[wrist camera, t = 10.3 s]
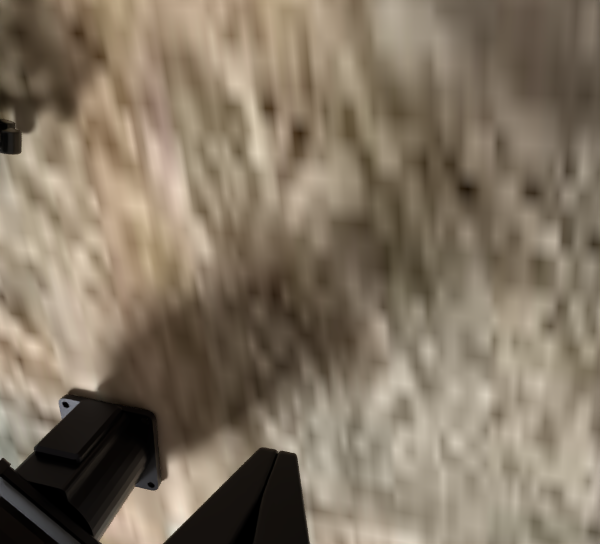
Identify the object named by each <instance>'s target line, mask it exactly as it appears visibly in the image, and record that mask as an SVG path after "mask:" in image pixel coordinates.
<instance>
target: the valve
mask: <svg viewBox="0 0 600 544" xmlns="http://www.w3.org/2000/svg"><path fill="white" fill-rule="evenodd" d="M21 147H22V132H21V131H20V130H17V129H15V123H14V122H13V121H10V120H6V119H0V153H4V154H20V153H21Z"/></svg>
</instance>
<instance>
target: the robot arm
mask: <svg viewBox="0 0 600 544" xmlns="http://www.w3.org/2000/svg"><path fill="white" fill-rule="evenodd" d="M59 407H60V412H61V418H62V420H61V421H60V422H59V423H58V424H57V425H56V426H55V427H54V428H53V429H52V430H51V431H50V432H49V433H48V434H47V435H46V436H45V437H44V438H43V439H42V440H41V441H40V442H39V443H38V444H37V445H36V446H35V447H34V452H33V453H32V454H31V455H30V456H29V457H28V458H27V459H26V460H25V461H24V462H23V463H22V464H21V465H20V466H19V467H18V468H17V469H16V470H14V469H13V468H11V467H10V465H11V464H10V463H9V462H8V461H7V460H5V459H4V458H2V459H1V460H0V544H102V543H100V542H99V540H100V539H101V537H102V536H103V534H104V533H105V531H106V530H107V528H108V527H109V525H110V524H111V522H112V521H113V519H114V517H115V516H116V514H117V513H118V511H119V510H120V508H121V507H122V505H123V504H124V502H125V501H126V499H127V498H128V496H129V495H130V493H131V492H132V490H133V489H134V487H140V488H144V489H148V490H157V489H158V487H159V486H160V484H161V475H160V463H159V451H158V439H157V426H156V417H155V415H154V414H153V413H152V412H151V411H148V410H143V409H138V408H133V407H128V406H123V405H118V404H113V403H108V402H103V401H98V400H93V399H88V398H84V397H79V396H74V395H67V394H66V395H64V396H63V397H62V398H61V399H60V400H59ZM163 544H310V542H309V535H308V528H307V521H306V514H305V508H304V501H303V494H302V487H301V480H300V473H299V466H298V459H297V455H296V454H295V453H290V452H285V451H280V452H279V453H278V451H277V450H275V449H269V448H264V447H262V448H259V449H258V450H257V451H256V452H255V453H254V454H253V455H252V456H251V457H250V458H249V459H248V460H247V461H246V462H245V463H244V464H243V465H242V466H241V467H240V468H239V469H238V470H237V471H236V472H235V473H234V474H233V475H232V476H231V477H230V478H229V479H228V480H227V481H226V482H225V483H224V484H223V485H222V486H221V487H220V488H219V489H218V490H217V491H216V492H215V493H214V494H213V495H212V496H211V497H210V498H209V499H208V500H207V501H206V502H205V503H204V504H203V505H202V506H201V507H200V508H199V509H198V510H197V511H196V512H195V513H194V514H193V515H192V516H191V517H190V518H189V519H188V520H187V521H186V522H185V523H184V524H183V525H182V526H181V527H180V528H178V529H177V530H176V531H175V532H174V533H173V534H172V535H171V536H170V537H169V538H168V539H167V540H166V541H165V542H164V543H163Z"/></svg>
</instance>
